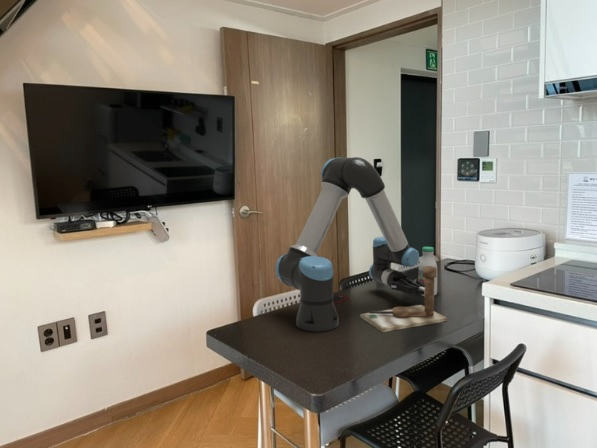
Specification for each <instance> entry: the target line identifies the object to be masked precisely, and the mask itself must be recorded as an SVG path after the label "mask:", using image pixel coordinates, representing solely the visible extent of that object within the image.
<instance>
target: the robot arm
mask: <svg viewBox="0 0 597 448" xmlns="http://www.w3.org/2000/svg"><path fill="white" fill-rule="evenodd" d="M320 173H321V174H320V176H321V183H320V185H321V191H320V193H319V196H318V198H317V200H316V202H315V204H314V205H313V208H312V210H311V212H310V214H309V216H308V218H307V221H306V223H305V224H304V227H303V229H302V231H301V233H300V235H299V237H298V240H297V241H296V243H295V244H294V245H291V246H290V247H289V248H288V251H287V253H284V254H282V255H281V256H280V257H278V259H277V261H276V264H275V273H276V277H277V279H278V280H279V281H280V282H281V283H283V285H286V286H287V287H291V288H293V289H296V290H297V291H299V296H300V300H299V301H300V302H299V303H300V304H299V307H298V311H297V314H296V318H295V324H296V325H295V326H296V327H297V328H298V329H301V330H303V331H307V332H327V331H331V330H333V329H335V328H337V327H338V326H339V323H340V322H339V321H340V319H339V318H340V317H339V315H338V312H337V309H336V306H335V305H334V303H333V295H334V267H333V263H332V262H331V260H329V259H328V258H326V257H323V256H318V255H317V253H318V252H319V249H320V247H321V245H322V243H323V241H324V239H325V237H326V235H327V232H328V230H329V228H330V226H331V224H332V222H333V219H334V217H335V215H336V214H337V212H338V209H339V207H340V205H341V203H342V200H343V199H346V198H348V197H349V195H350V192H351V190H353V189H355V190H356V191H357V192H358V193H359V195H360V196H361V198H362V199H364V200H365V202H366V203H367V206H368V208H369V209H370V211H371V213H372V214H371V215H373V217H374V220H375V221H376V224H377V226H378V228H379V230H380V232H381V234H382V236H379V237H375V238H373V241H372V260H373V261H372V265H370V267H369V269H368V276H369V277H370V278H371V279H372V280H373V281H375V282H376V283H380V284H383V285H384V286H386V287H388V288H390V289H391V290H393V291H394V290H395V291H399V292H401V293H402V292H403V293H405V294H408V295H409V294H410V295H413V294H414V296H415V297H418V296H419V295H420V296H423V297H424V298H425V284H424V283H422V282H421V281H420V280H419V279H418V278H416V279H414V280H413V279H412V278H410V277H409V278H408V276H407V275H406V273H404V272H402V271H400V270H398V269H395V268H392V264H395V265H398V266H403V267H409V268H412V267H413V268H414V267H415V266H416V265H417V264H418V263H419V262H420V253H419V251H418V250H417V249H416V248H414V247H411V246H410V244H409V241H408V240H407V239H408V238H407V237H406V235H405V233H404V231H403V228H402V227H401V224H400V222H399V220H398V218H397V216H396V214H395V212H394V210H393V207H392V205H391V203H390V200H389V199H388V196H387V193H386V192H385V188H386V186H385V183H384V181H383V179H382V177H381V175H380V174H379V172H378V171H377V169H376V168H375V167H374V166H373V165H372V163H371V162H370V161H368V160H367V159H365V158H362V157H356V156H354V157H343V156H342V157H335V158H331V159H328V160H327V161H326V162H325V164H324V165H322V167H321V172H320Z"/></svg>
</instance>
